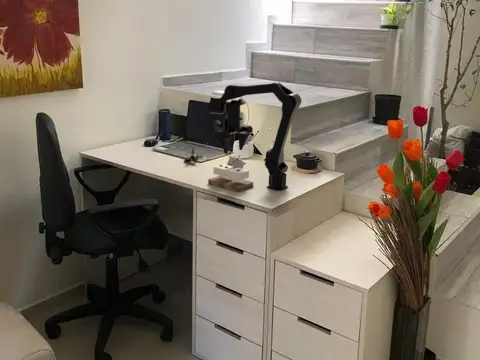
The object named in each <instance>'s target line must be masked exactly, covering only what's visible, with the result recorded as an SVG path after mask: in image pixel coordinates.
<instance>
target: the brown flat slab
mask: <svg viewBox="0 0 480 360" xmlns="http://www.w3.org/2000/svg"><path fill="white" fill-rule="evenodd" d="M207 184H208V185H210V186H213V187H214V186H215V187H218V188H221V189H224V190H228V191H232V192H235V191H236V193H240V192H243V191H244V190H248V189H251V188H253V187H254V181H250V180H247V179H243V180H240V181H239V180H235V179H231V178H228V176H225V177H224V176H220V175H217V176H214V177H211V178H208V181H207Z"/></svg>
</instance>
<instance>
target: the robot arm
mask: <svg viewBox="0 0 480 360" xmlns="http://www.w3.org/2000/svg"><path fill="white" fill-rule="evenodd" d="M263 94H273V95H275V97H276V98H277V99H278V101H279V102H280V103H282V104H281V119H280V122H279V126H278V129H277V132H276V135H275V139H274V142H273V146H272V147H271V148H270V149H268V150H267V151H266V153H265V157H264V159H263V161H264V166H265V168H266V169H267V171H268V185H267V186H266V188H268V189H270V190H271V189H272V190H275V191H279V192H280V191H282V190H285V189H287V188H289V185H287V173H286V172H288V169H289V166H288V165H287V164H286V162H285V161H284V159H285V158H284V157H285V153H284V152H285V150H284V148H285V145H286V143H287V138H288V135H289V131H290V129H291V125H292V121H293V119H294V116H295V115H296V113H297V112H298V110H299V108H300V106H301V104H302V97H301V96H300V95H299V94H298V93H295V92H293V91H292V90H291V89H289V88H288V87H286V86H285V85H283V84H282V83H281V82H280V81H275V82H268V83H260V84H259V83H258V84H250V85H249V84H244V83H232V84H229V85H227V86H226V87H225V88H224V92H223V94H222V96H221V97H217V96H212V97H210V100H209V102H208V106H207V109H208V113H209V114H217V115H224V114H225V113H226V115H225V117H223V120H222V121H220V120H214V121H213V129H214V131H213V135H212V136H213V138H215V140H218V141H219V143H220V145H221V146H222V147H221V148H222V150H223V153H224V154H225V155H228V152H229V147H230V142H231V138H230V137H231V136H232V135H237V138H238V150H239V151H242V150H243V148H244V146H245V144H246V143H247V140H248V138H249V137H250V136H251V133H253V132H254V131H253V130H254V129H253V127H252V125H249V124H241V121H242V120H243V117H241V106H243V105H246V101H244V100H243V99H242V97H245V96H251V95H263ZM238 98H239V99H238Z"/></svg>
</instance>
